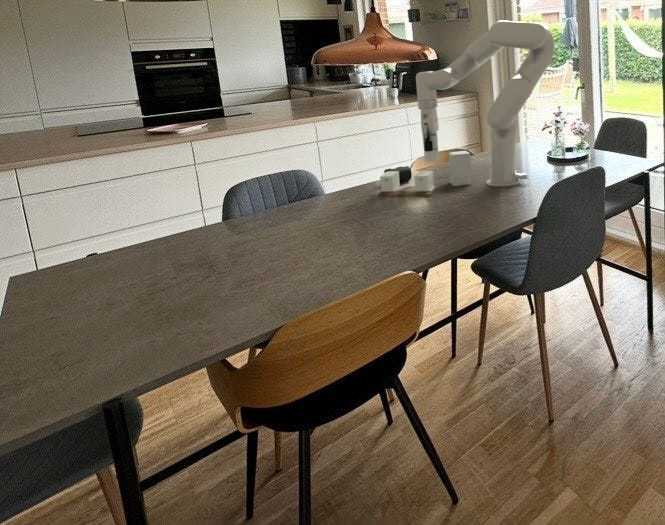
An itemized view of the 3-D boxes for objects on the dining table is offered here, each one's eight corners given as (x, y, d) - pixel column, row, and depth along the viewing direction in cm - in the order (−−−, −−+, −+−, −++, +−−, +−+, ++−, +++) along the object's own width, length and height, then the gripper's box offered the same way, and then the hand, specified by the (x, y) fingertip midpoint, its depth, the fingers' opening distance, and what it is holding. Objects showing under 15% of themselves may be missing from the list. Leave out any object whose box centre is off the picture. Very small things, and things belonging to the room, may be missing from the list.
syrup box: (439, 161, 229) (436, 124, 224) (424, 162, 230) (421, 126, 225) (439, 158, 234) (436, 122, 229) (424, 160, 235) (421, 124, 230)
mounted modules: (433, 185, 226) (432, 170, 223) (427, 191, 218) (427, 176, 215) (388, 185, 233) (387, 171, 231) (380, 191, 225) (379, 176, 223)
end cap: (391, 186, 240) (390, 170, 237) (384, 183, 246) (383, 168, 244) (412, 182, 242) (411, 167, 240) (404, 179, 249) (403, 164, 246)
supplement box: (471, 184, 228) (470, 153, 224) (452, 186, 228) (451, 155, 224) (467, 180, 235) (466, 150, 231) (449, 182, 235) (448, 152, 231)
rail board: (437, 188, 227) (436, 184, 226) (430, 196, 217) (429, 192, 216) (387, 189, 235) (386, 185, 235) (378, 196, 225) (377, 192, 225)
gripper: (431, 105, 215) (435, 152, 221) (441, 100, 230) (444, 144, 236) (412, 107, 219) (416, 154, 224) (423, 102, 233) (427, 146, 239)
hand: (431, 148), depth 230 cm, fingers closed on syrup box, 6 cm apart
